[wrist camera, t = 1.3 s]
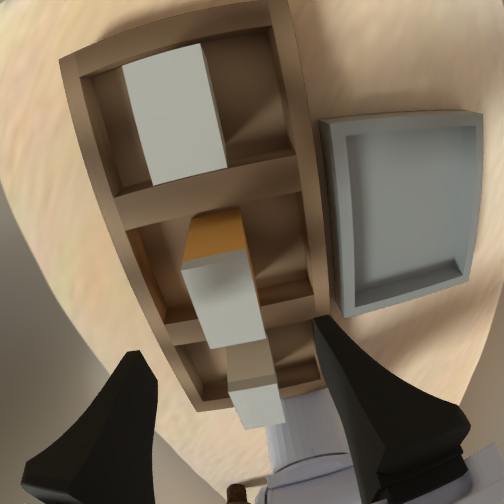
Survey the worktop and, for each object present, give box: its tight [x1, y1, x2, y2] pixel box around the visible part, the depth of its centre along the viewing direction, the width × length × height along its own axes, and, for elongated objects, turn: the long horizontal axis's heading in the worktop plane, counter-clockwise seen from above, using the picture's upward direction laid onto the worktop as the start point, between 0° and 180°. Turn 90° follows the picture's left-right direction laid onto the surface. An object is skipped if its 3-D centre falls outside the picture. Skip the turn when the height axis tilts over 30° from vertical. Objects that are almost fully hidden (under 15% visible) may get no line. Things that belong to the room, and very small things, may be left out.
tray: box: [318, 110, 483, 319], centre depth 20 cm, size 14×12×2 cm
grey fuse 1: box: [122, 43, 227, 186], centre depth 14 cm, size 5×3×6 cm, turn 11°
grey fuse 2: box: [226, 329, 286, 430], centre depth 22 cm, size 5×3×6 cm, turn 11°
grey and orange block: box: [181, 208, 266, 349], centre depth 18 cm, size 5×3×6 cm, turn 11°
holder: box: [59, 0, 331, 412], centre depth 20 cm, size 28×12×3 cm, turn 11°
